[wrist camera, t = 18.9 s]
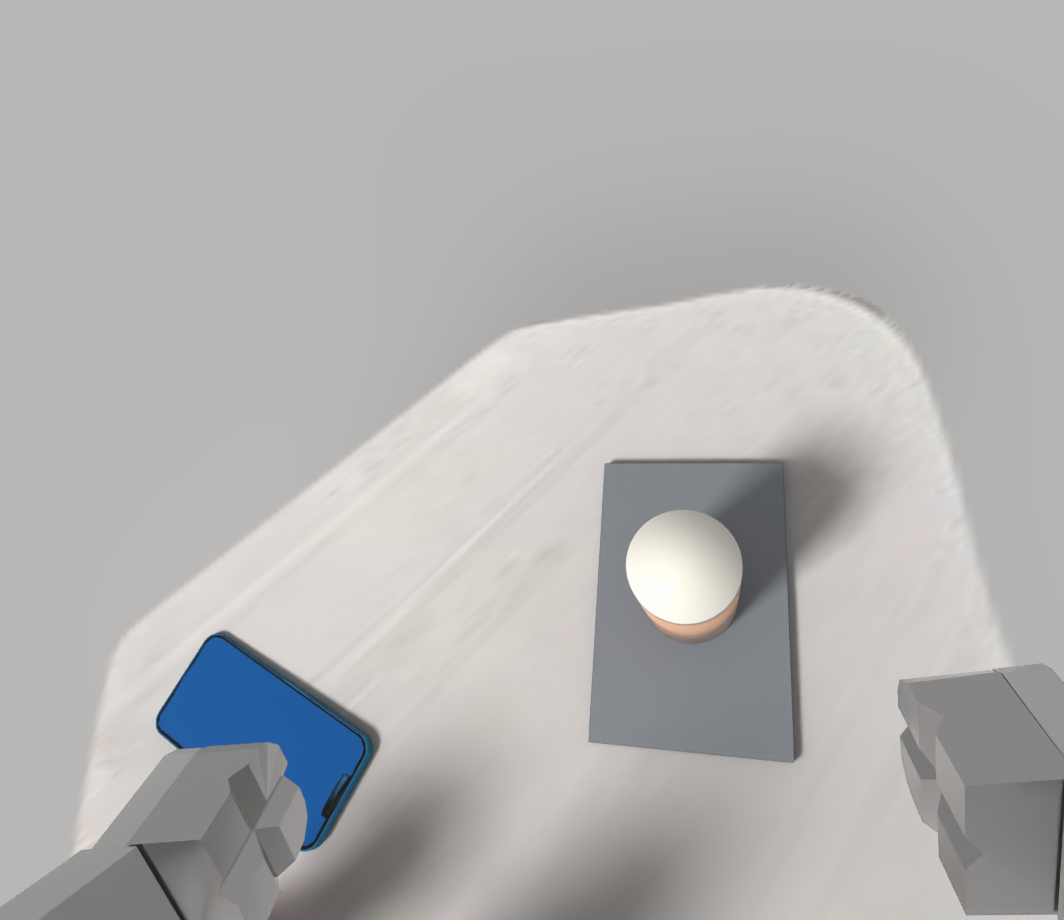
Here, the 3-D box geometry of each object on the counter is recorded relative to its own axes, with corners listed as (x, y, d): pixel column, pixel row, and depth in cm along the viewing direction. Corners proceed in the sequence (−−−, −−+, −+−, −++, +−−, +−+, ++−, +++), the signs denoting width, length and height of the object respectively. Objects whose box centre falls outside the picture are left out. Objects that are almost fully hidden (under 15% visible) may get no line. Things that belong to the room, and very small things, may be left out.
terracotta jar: (740, 645, 40) (745, 624, 32) (642, 642, 41) (625, 621, 34) (736, 550, 42) (740, 509, 34) (643, 550, 43) (626, 510, 35)
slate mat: (793, 762, 38) (794, 762, 37) (590, 742, 40) (588, 742, 40) (781, 466, 44) (782, 462, 43) (606, 466, 47) (604, 463, 46)
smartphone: (213, 627, 49) (374, 742, 43) (222, 629, 50) (381, 742, 44) (149, 726, 47) (307, 860, 41) (159, 726, 48) (316, 858, 42)
